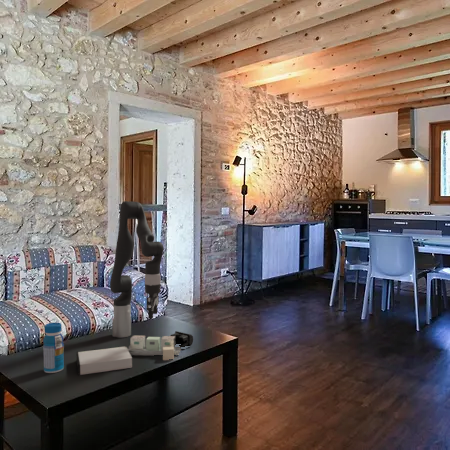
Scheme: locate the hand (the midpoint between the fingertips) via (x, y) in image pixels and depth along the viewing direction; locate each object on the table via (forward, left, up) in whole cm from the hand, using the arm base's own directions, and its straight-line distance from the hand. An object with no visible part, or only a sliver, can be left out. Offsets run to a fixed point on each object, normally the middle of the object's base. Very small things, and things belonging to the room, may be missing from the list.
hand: (152, 316), depth 203 cm
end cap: (+12, +11, -18) cm, 24 cm away
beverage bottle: (-38, -24, -18) cm, 49 cm away
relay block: (+9, -7, -18) cm, 21 cm away
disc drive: (-19, -16, -19) cm, 31 cm away
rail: (0, 0, -18) cm, 18 cm away
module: (0, 0, -17) cm, 17 cm away
